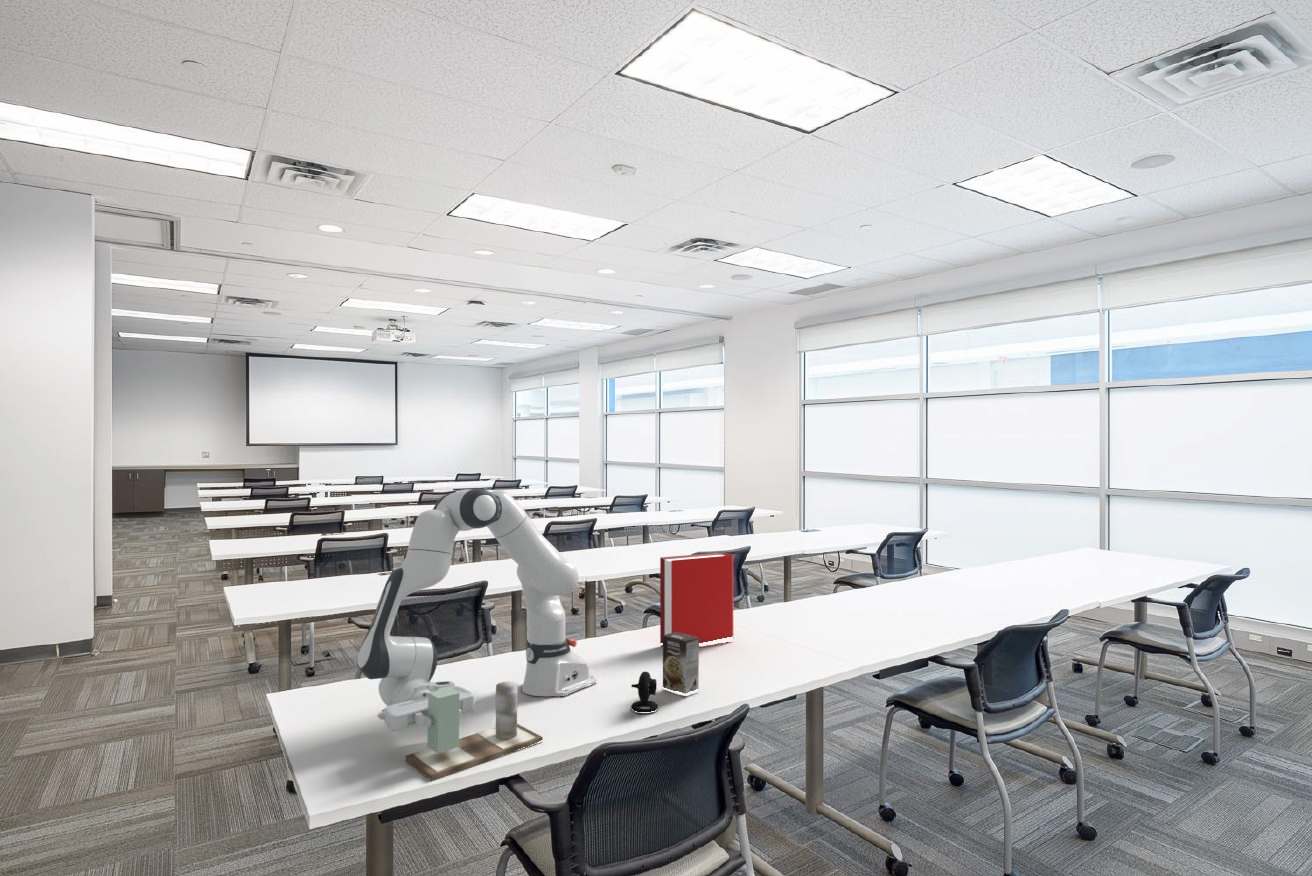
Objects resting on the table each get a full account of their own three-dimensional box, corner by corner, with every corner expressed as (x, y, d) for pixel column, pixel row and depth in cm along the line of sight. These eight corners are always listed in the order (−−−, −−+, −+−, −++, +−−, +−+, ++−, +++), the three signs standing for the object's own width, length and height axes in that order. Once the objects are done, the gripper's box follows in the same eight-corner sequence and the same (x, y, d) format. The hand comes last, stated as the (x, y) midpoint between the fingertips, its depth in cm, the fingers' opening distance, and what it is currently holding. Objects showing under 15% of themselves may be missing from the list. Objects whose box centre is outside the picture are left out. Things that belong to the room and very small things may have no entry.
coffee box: (661, 690, 197) (661, 635, 198) (676, 685, 202) (676, 630, 202) (685, 698, 191) (685, 640, 192) (699, 692, 196) (699, 636, 196)
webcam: (655, 715, 178) (655, 677, 178) (628, 714, 180) (628, 676, 180) (660, 705, 186) (660, 668, 186) (634, 703, 187) (634, 667, 187)
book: (671, 652, 236) (671, 560, 237) (660, 646, 243) (660, 557, 244) (735, 641, 249) (734, 554, 250) (722, 636, 256) (722, 552, 257)
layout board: (513, 726, 171) (513, 673, 171) (542, 742, 162) (542, 685, 162) (405, 761, 152) (406, 701, 152) (431, 781, 142) (431, 717, 143)
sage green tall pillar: (448, 740, 155) (449, 687, 155) (458, 747, 151) (459, 693, 151) (427, 746, 151) (428, 692, 152) (437, 753, 148) (438, 698, 148)
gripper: (374, 699, 154) (399, 716, 144) (457, 679, 168) (485, 693, 158) (374, 727, 154) (399, 746, 144) (457, 705, 168) (485, 720, 158)
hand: (445, 718), depth 151 cm, fingers closed on sage green tall pillar, 5 cm apart
